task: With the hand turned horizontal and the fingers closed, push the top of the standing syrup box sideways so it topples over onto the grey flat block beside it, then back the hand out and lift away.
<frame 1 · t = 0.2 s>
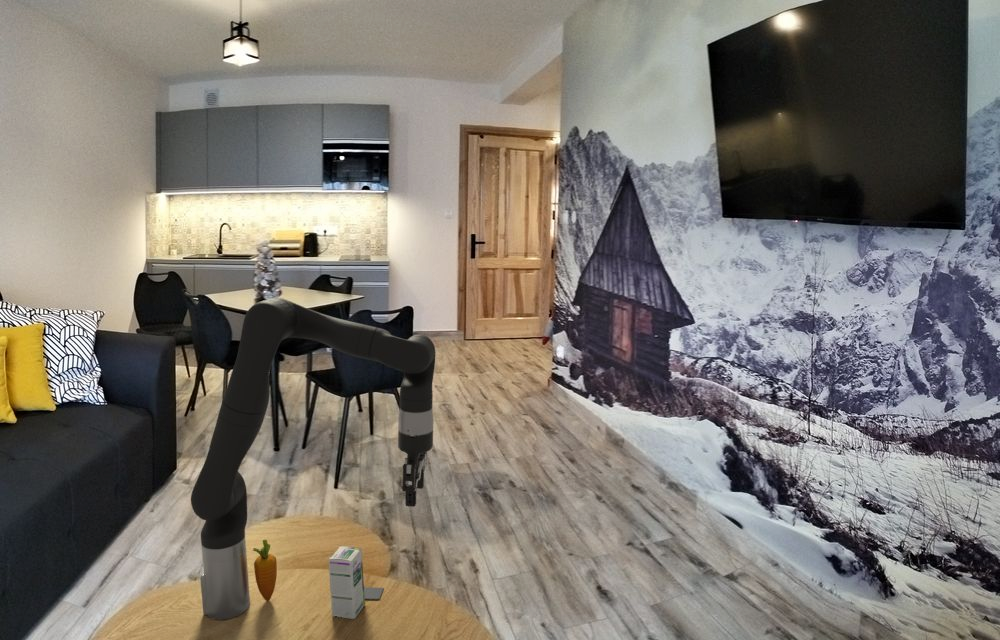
hand: (414, 496, 144), 29 cm above the table, tool pointing down, fingers open, 8 cm apart
syrup box: (348, 611, 150), on the table
carrot: (267, 601, 153), on the table
grey flat block: (363, 593, 156), on the table
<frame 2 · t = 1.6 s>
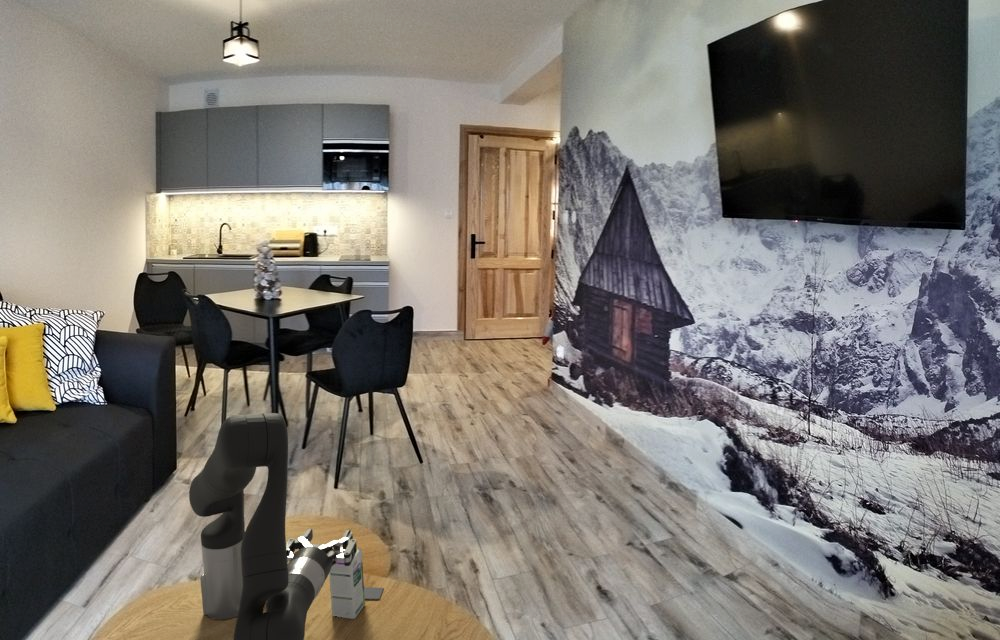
hand: (329, 533, 135), 25 cm above the table, tool horizontal, fingers open, 7 cm apart
nothing on the table moved.
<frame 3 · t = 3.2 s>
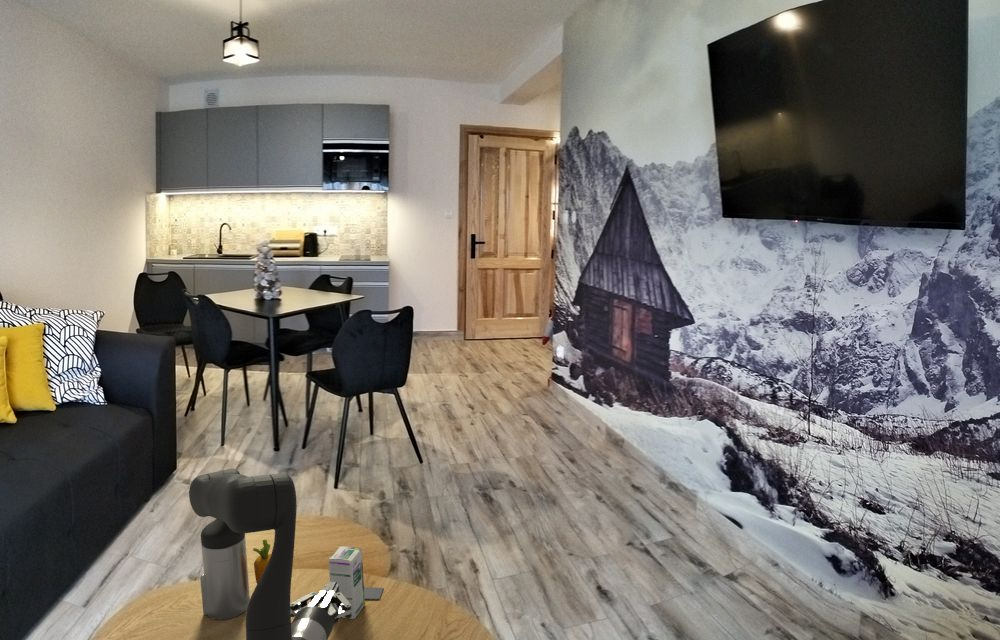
hand: (333, 585, 137), 13 cm above the table, tool horizontal, fingers closed
nothing on the table moved.
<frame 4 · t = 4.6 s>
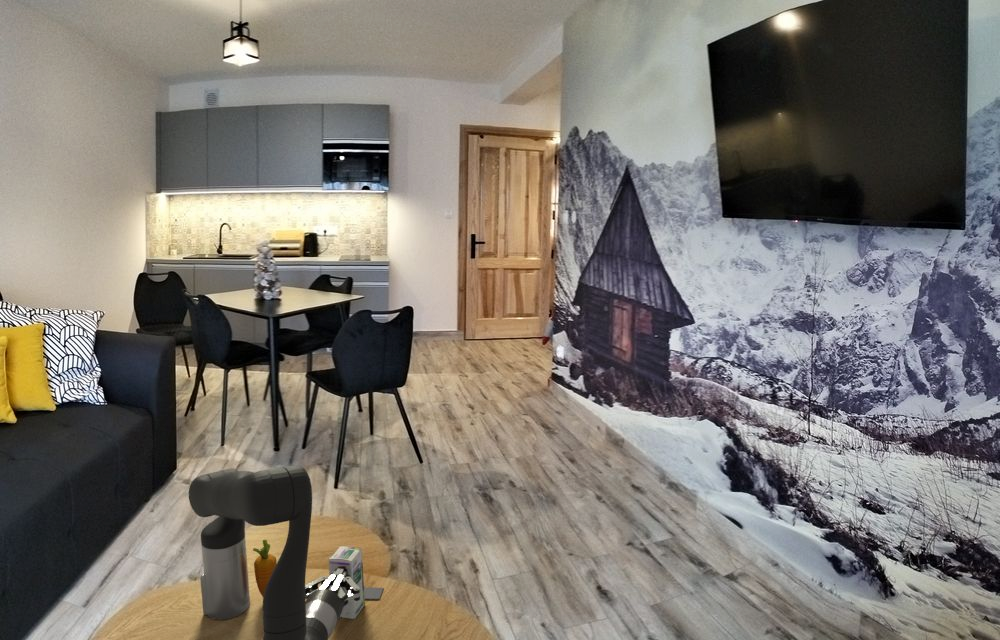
hand: (342, 570, 145), 12 cm above the table, tool horizontal, fingers closed
syrup box: (348, 611, 150), on the table, touching gripper
everything else where it was.
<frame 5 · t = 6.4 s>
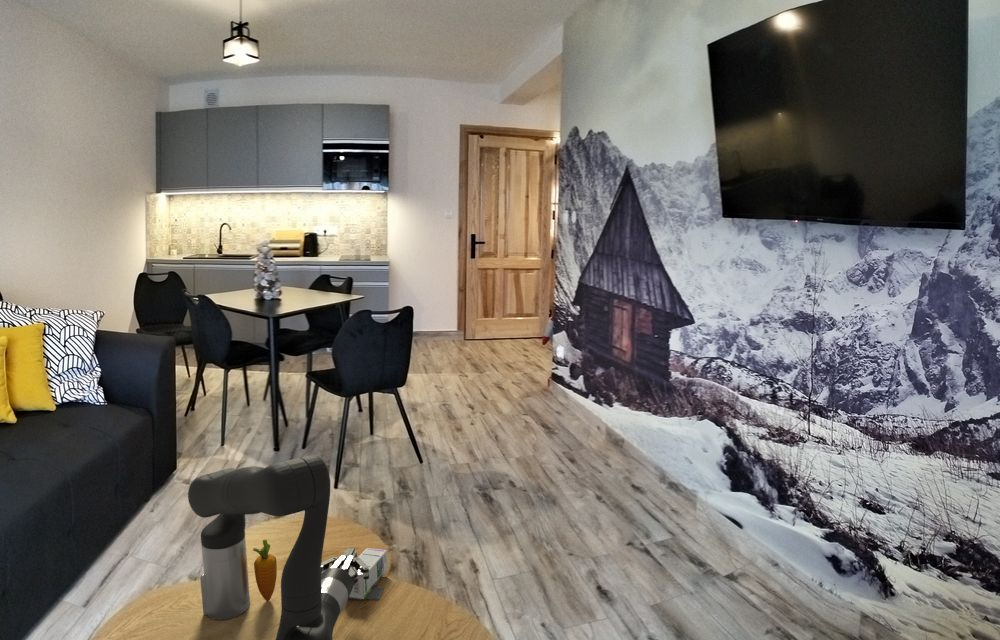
hand: (351, 551, 152), 12 cm above the table, tool horizontal, fingers closed
syrup box: (351, 587, 153), point 4 cm above the table, touching grey flat block
everything else where it was.
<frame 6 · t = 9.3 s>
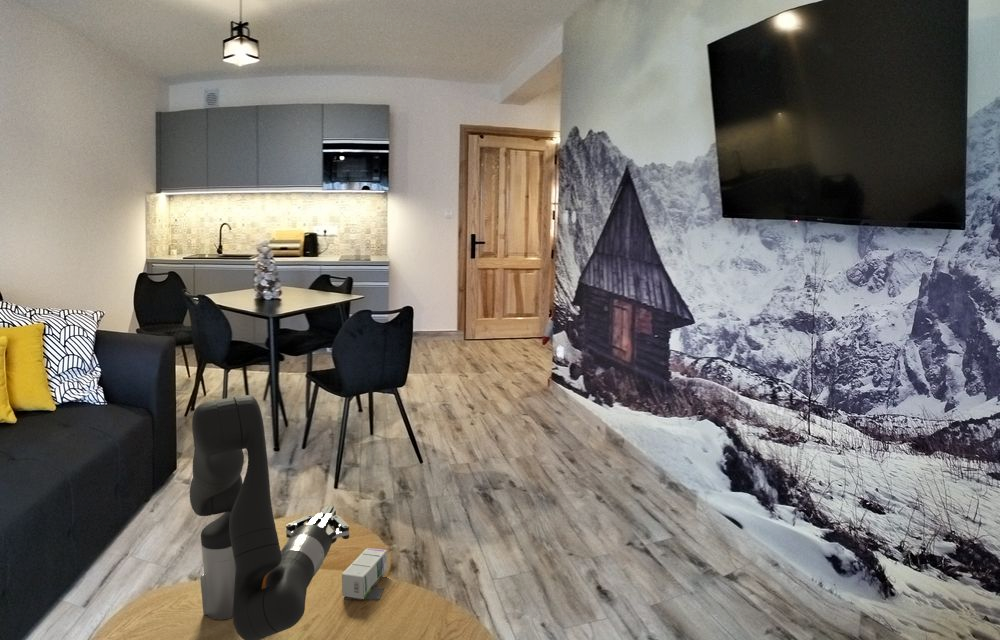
hand: (330, 510, 135), 30 cm above the table, tool horizontal, fingers closed
nothing on the table moved.
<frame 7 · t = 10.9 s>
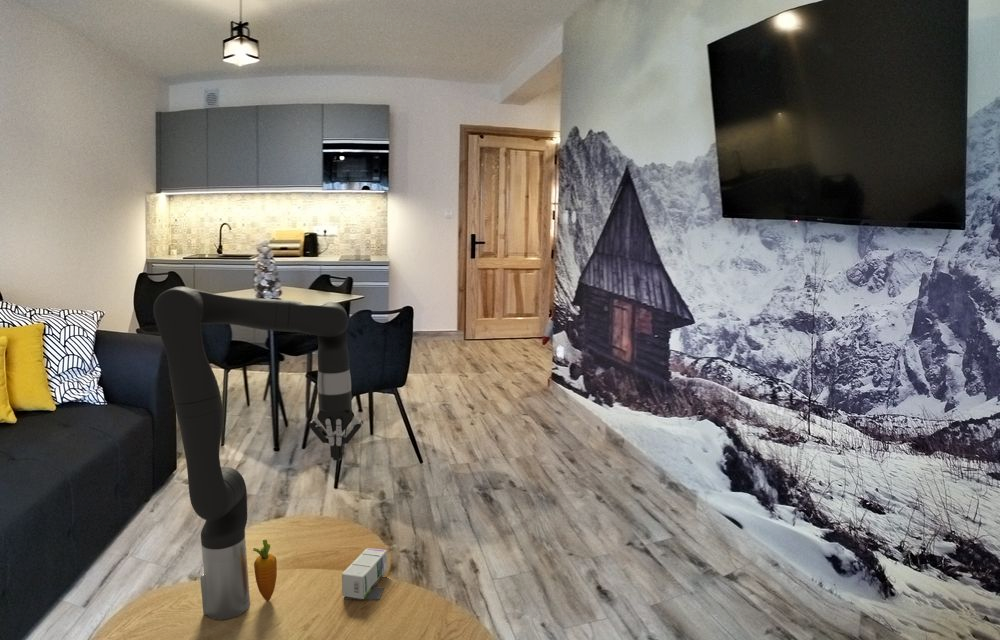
hand: (337, 459, 154), 33 cm above the table, tool pointing down, fingers closed
nothing on the table moved.
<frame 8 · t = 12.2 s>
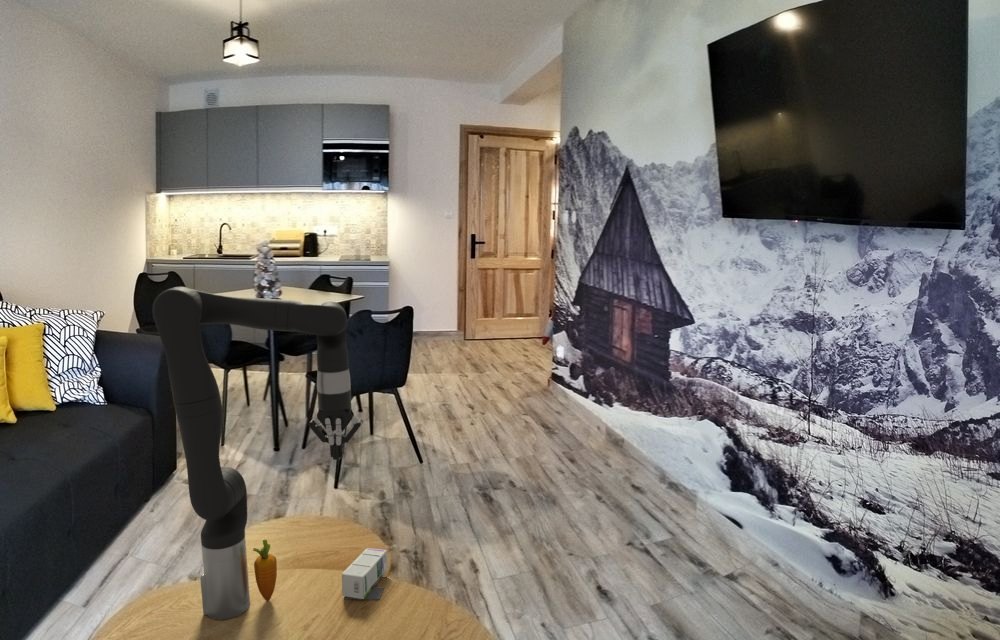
hand: (337, 458, 154), 33 cm above the table, tool pointing down, fingers closed
nothing on the table moved.
at the end: syrup box tilted 94°; syrup box inside the target area (1.6 cm from its centre), point 3.6 cm above the table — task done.
